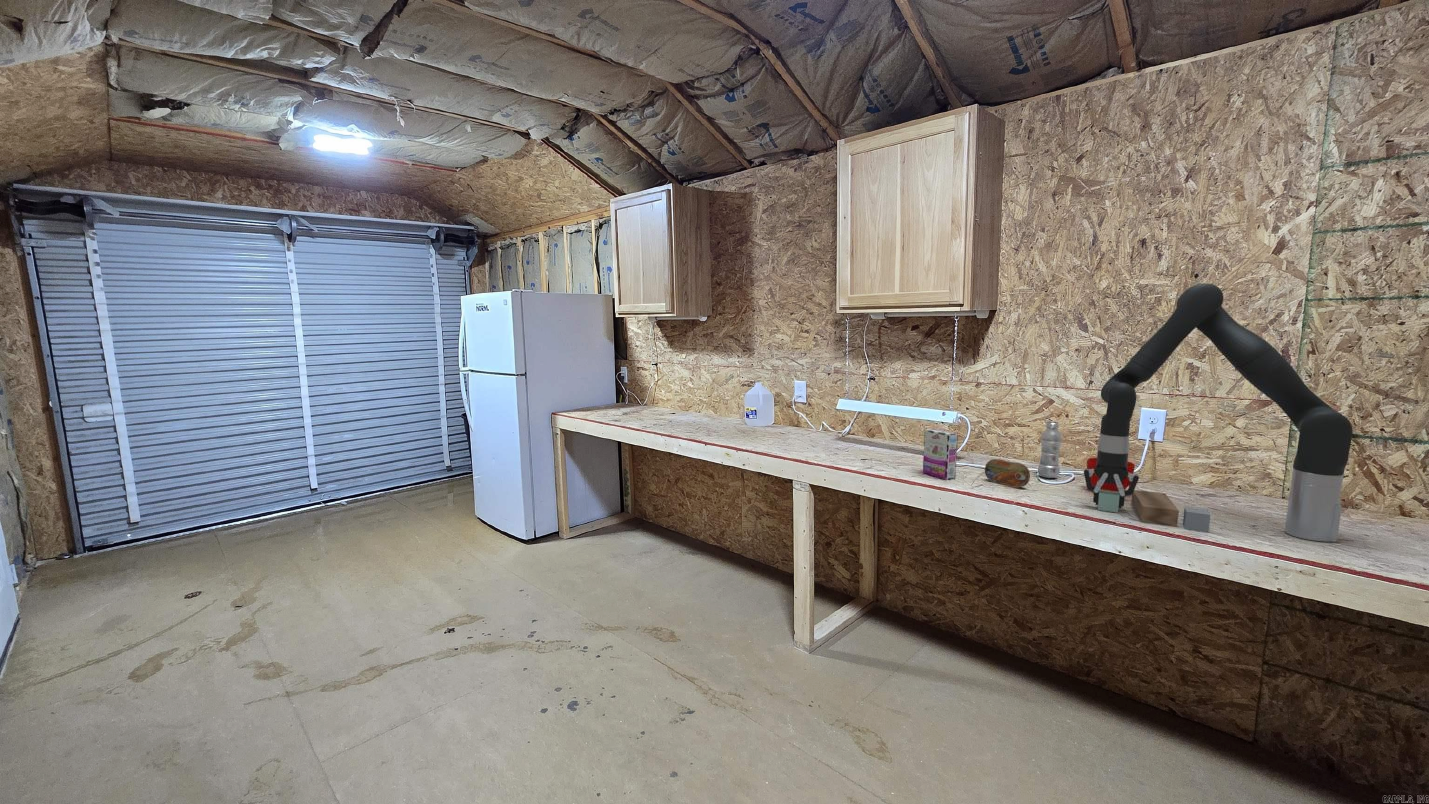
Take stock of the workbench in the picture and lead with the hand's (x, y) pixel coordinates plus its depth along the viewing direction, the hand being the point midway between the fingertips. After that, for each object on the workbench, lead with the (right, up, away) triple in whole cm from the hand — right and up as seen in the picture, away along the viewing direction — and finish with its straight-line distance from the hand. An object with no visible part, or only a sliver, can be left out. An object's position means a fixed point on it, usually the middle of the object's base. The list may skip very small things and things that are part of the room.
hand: (1107, 505), depth 178 cm
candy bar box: (-36, +4, +38) cm, 53 cm away
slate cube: (+13, -4, -16) cm, 21 cm away
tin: (-17, +2, +27) cm, 32 cm away
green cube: (0, -1, 0) cm, 1 cm away
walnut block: (+10, -2, -5) cm, 11 cm away
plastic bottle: (+2, +4, +36) cm, 36 cm away
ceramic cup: (+12, +1, +16) cm, 20 cm away
